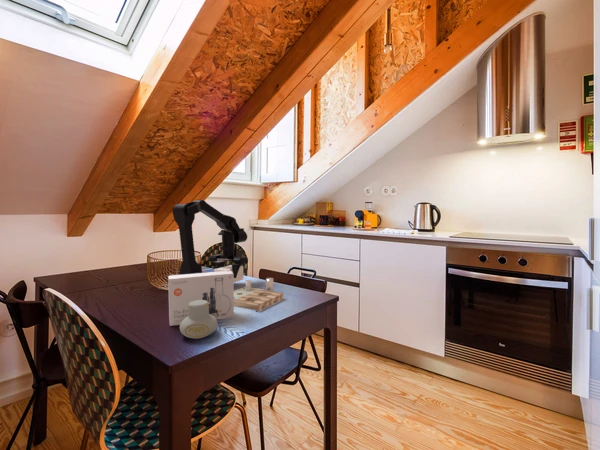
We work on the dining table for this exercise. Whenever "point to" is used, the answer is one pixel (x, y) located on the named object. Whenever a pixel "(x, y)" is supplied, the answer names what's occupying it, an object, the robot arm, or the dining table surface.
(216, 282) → the skincare box
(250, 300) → the hole board
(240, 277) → the white rectangular block
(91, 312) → the dining table surface
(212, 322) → the air freshener
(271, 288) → the pin
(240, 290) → the plate
